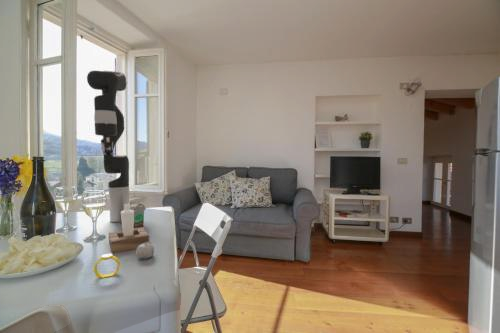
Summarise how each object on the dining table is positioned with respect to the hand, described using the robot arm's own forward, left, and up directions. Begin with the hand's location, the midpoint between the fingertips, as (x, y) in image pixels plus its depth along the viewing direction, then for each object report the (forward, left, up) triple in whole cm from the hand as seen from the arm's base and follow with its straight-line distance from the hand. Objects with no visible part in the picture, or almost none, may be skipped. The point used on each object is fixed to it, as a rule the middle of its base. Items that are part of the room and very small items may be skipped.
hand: (108, 164), depth 97 cm
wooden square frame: (+13, +5, -30) cm, 33 cm away
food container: (-7, +11, -30) cm, 33 cm away
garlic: (+29, +8, -30) cm, 42 cm away
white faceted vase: (+13, +5, -30) cm, 33 cm away
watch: (+36, -3, -30) cm, 47 cm away
